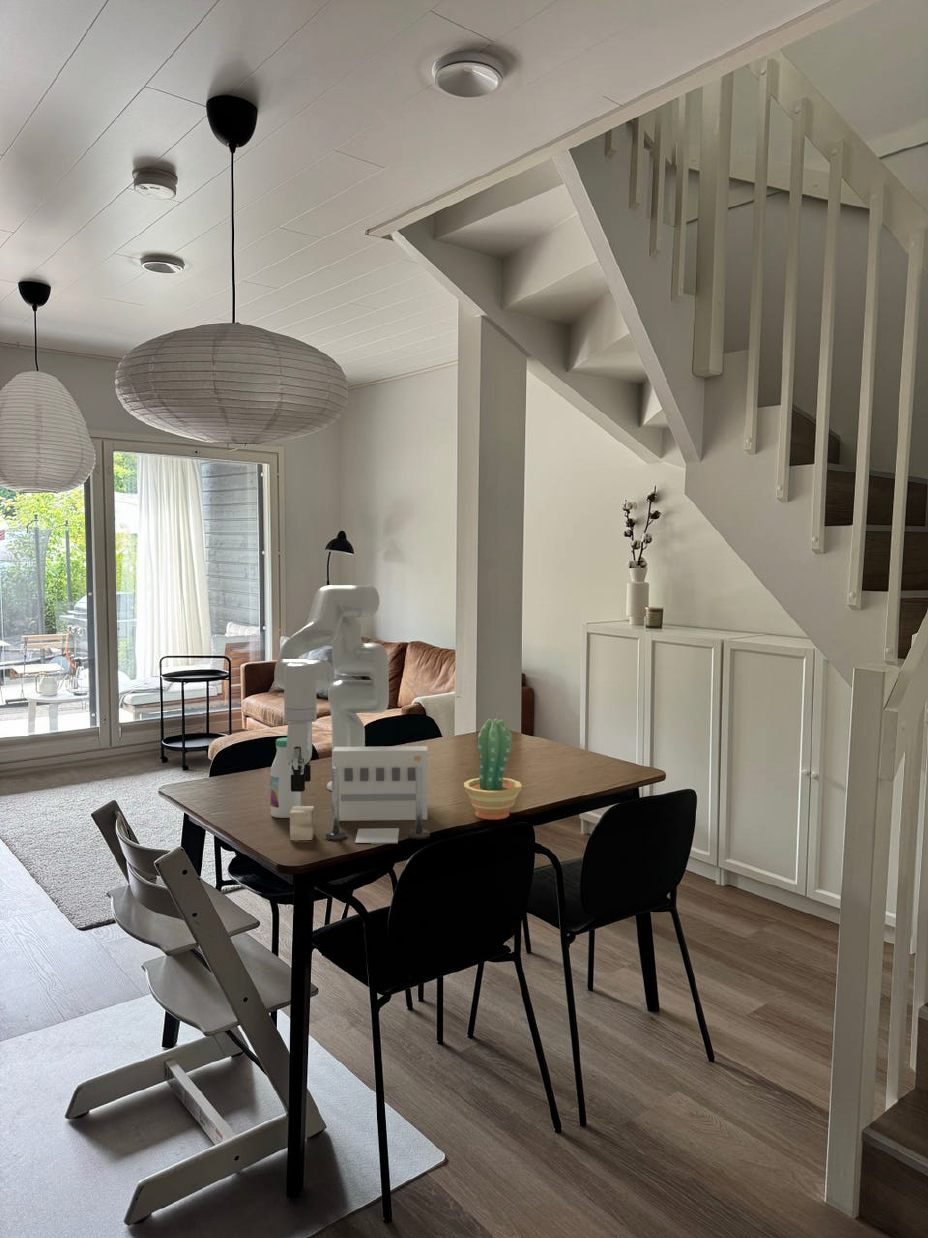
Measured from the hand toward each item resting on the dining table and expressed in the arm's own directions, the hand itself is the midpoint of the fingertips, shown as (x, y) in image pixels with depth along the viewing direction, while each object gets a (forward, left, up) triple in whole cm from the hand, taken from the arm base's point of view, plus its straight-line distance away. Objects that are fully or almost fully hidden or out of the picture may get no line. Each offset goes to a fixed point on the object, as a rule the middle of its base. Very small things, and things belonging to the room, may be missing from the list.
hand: (300, 786), depth 205 cm
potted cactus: (-18, +47, -13) cm, 52 cm away
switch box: (-16, +18, -13) cm, 27 cm away
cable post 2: (-1, +28, -13) cm, 31 cm away
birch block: (-1, 0, -13) cm, 13 cm away
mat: (-1, +18, -13) cm, 22 cm away
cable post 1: (-1, +8, -13) cm, 15 cm away
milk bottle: (-20, -7, -13) cm, 24 cm away
